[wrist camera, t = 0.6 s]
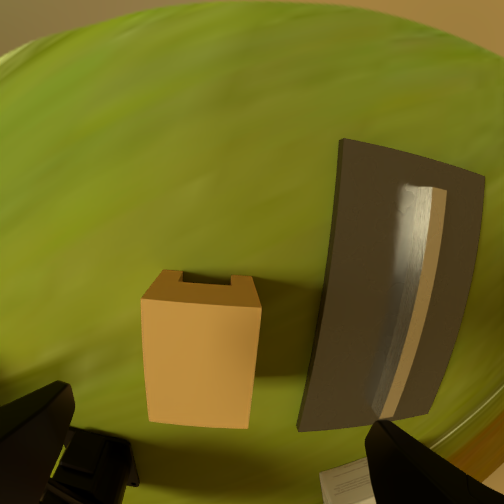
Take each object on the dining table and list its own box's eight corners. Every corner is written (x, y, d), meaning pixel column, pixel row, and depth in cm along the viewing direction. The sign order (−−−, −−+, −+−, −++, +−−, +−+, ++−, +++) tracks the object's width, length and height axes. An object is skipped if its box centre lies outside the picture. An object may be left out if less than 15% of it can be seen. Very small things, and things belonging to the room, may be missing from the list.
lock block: (242, 377, 20) (247, 428, 14) (163, 371, 19) (149, 421, 14) (251, 276, 18) (262, 307, 13) (163, 269, 18) (141, 298, 13)
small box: (390, 482, 24) (407, 513, 19) (322, 506, 24) (334, 541, 19) (396, 442, 23) (419, 477, 18) (317, 470, 22) (331, 512, 17)
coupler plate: (423, 408, 22) (436, 423, 20) (296, 425, 21) (302, 446, 18) (477, 176, 18) (499, 176, 16) (339, 140, 17) (354, 133, 15)
